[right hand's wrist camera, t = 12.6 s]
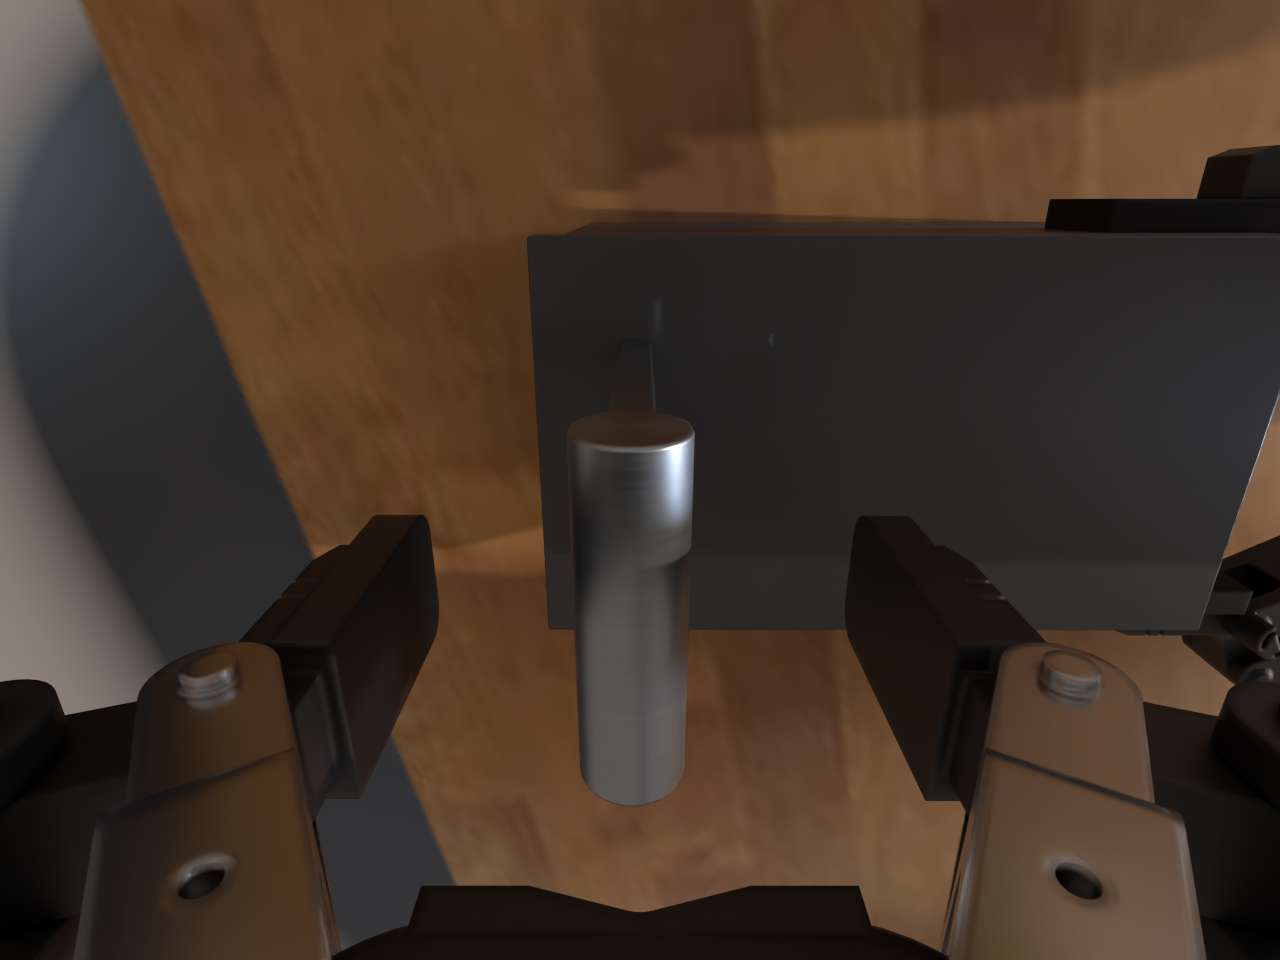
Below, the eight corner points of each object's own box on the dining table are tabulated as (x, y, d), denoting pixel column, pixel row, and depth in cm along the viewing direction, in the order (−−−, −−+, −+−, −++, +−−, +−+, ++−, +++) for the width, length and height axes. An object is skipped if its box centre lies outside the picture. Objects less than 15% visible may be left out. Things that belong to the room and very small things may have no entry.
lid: (552, 611, 19) (488, 905, 11) (532, 234, 15) (417, 269, 7) (1174, 612, 19) (1557, 907, 11) (1298, 234, 15) (1995, 269, 7)
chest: (597, 482, 28) (576, 610, 19) (590, 222, 24) (562, 234, 15) (1006, 483, 28) (1173, 611, 19) (1060, 222, 24) (1296, 234, 15)
